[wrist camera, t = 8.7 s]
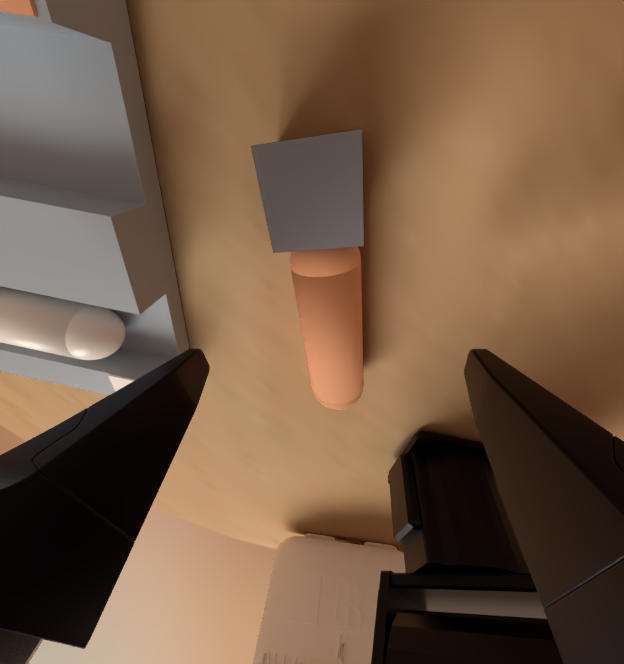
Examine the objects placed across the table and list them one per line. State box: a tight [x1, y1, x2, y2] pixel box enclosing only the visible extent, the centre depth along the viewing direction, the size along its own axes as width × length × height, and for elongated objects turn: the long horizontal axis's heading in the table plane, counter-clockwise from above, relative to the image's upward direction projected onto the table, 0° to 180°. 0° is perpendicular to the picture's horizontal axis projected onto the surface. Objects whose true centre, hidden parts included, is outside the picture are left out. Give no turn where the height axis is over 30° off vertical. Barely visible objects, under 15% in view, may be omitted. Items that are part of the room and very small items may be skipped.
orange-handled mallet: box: [251, 129, 364, 410], centre depth 11 cm, size 12×3×3 cm, turn 7°
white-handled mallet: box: [0, 286, 125, 360], centre depth 13 cm, size 12×3×3 cm, turn 82°
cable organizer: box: [253, 533, 406, 664], centre depth 27 cm, size 15×11×12 cm
